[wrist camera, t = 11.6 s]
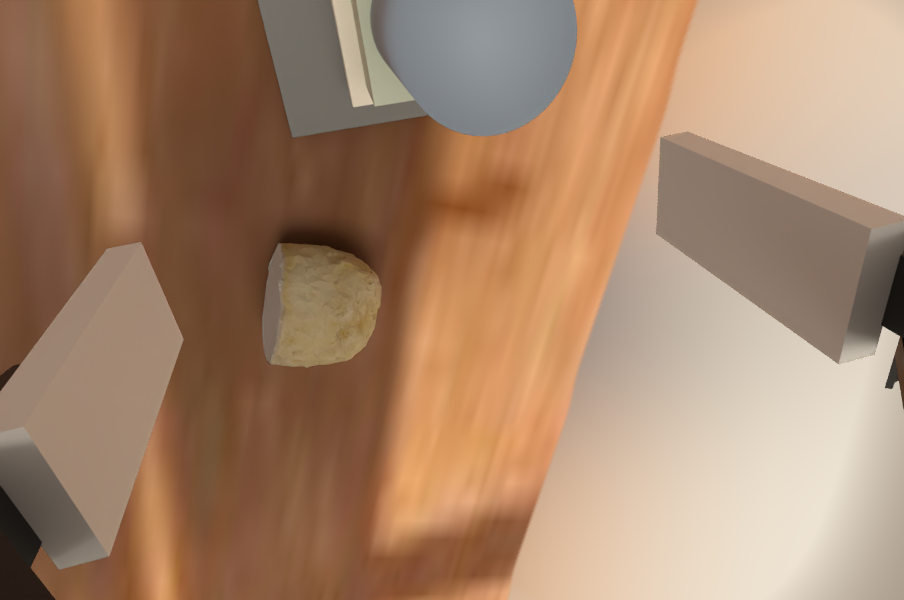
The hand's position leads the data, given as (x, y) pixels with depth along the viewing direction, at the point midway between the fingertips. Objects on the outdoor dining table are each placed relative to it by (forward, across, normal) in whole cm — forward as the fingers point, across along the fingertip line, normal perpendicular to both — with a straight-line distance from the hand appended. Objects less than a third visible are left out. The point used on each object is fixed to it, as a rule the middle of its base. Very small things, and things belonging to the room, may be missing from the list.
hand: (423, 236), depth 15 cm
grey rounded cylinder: (+17, +4, +4) cm, 18 cm away
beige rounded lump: (+31, -6, -15) cm, 35 cm away
